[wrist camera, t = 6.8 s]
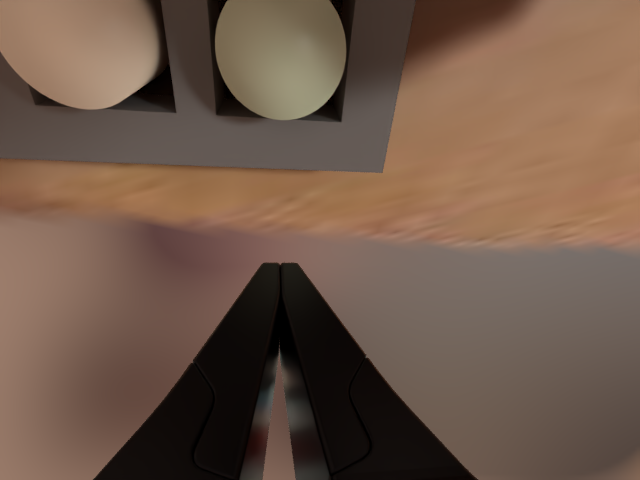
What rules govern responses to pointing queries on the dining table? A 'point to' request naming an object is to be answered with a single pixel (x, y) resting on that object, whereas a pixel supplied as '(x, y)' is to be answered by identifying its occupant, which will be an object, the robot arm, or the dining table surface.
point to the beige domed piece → (84, 47)
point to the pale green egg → (280, 54)
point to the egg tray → (223, 105)
